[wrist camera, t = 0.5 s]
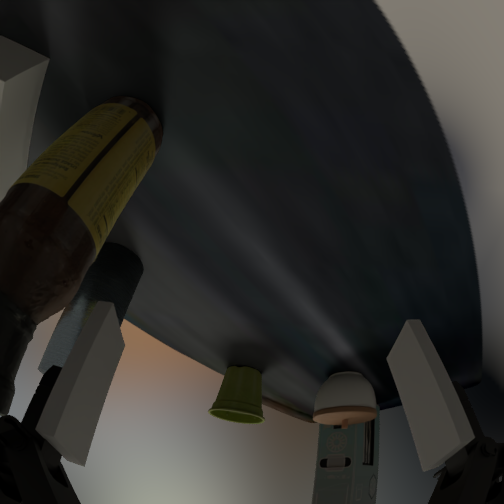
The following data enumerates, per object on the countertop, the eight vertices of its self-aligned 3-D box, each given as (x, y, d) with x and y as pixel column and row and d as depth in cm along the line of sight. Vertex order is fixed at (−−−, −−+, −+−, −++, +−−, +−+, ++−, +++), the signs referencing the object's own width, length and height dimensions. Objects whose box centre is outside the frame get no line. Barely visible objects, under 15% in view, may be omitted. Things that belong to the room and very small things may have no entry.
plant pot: (209, 369, 52) (200, 413, 46) (231, 355, 46) (221, 407, 40) (254, 383, 55) (248, 425, 49) (281, 371, 48) (275, 420, 42)
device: (379, 403, 60) (373, 522, 39) (349, 408, 64) (340, 523, 43) (357, 386, 51) (347, 535, 31) (320, 392, 55) (306, 533, 35)
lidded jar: (337, 390, 53) (335, 435, 47) (302, 376, 49) (298, 427, 42) (386, 377, 47) (387, 426, 40) (356, 360, 42) (356, 418, 36)
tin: (90, 238, 30) (27, 360, 19) (138, 247, 30) (80, 384, 19) (103, 272, 34) (55, 383, 24) (147, 282, 34) (103, 403, 24)
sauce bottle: (82, 128, 20) (-83, 348, 6) (126, 75, 17) (-111, 334, 3) (135, 179, 23) (12, 418, 10) (186, 137, 20) (35, 441, 7)
